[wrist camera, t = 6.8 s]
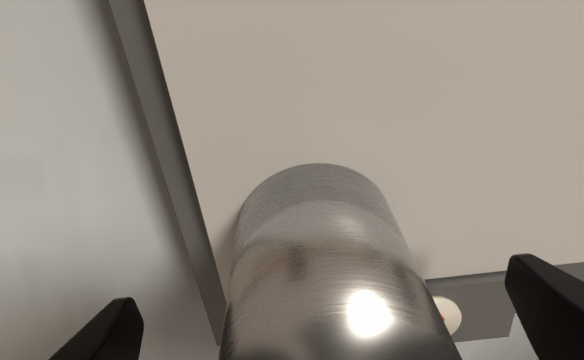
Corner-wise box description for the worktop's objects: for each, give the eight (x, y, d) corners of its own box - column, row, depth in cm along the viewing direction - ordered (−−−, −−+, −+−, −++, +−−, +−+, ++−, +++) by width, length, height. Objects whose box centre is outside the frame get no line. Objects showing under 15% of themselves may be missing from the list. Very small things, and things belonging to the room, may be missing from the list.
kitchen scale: (752, -235, 9) (991, -332, 6) (577, 265, 16) (643, 331, 13) (95, -150, 9) (11, -203, 6) (223, 304, 16) (212, 378, 13)
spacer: (393, 153, 10) (484, 300, 6) (389, 279, 12) (453, 453, 8) (223, 173, 10) (186, 332, 6) (250, 294, 12) (237, 475, 8)
